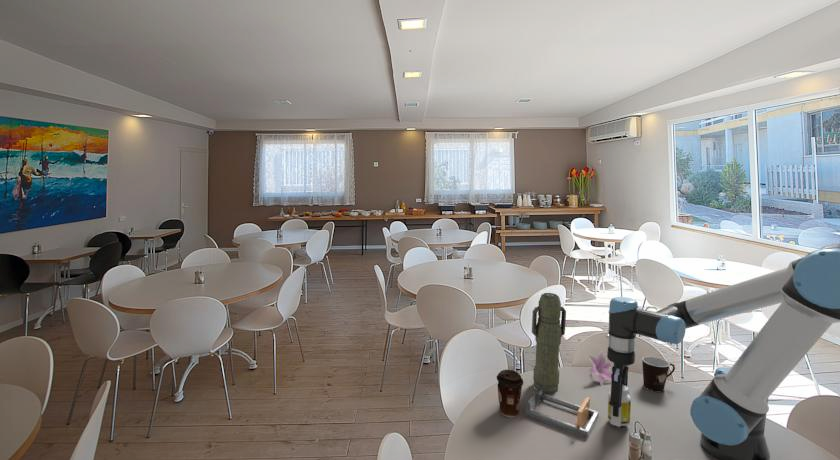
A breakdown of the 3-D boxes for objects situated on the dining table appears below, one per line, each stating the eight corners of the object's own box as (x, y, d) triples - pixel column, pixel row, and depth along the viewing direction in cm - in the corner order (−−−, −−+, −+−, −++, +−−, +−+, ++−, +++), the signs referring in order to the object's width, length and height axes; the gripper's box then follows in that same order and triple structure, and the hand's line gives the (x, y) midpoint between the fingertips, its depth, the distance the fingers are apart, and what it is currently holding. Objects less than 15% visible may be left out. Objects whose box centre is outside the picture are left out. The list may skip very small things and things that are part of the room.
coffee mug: (643, 391, 141) (645, 365, 140) (637, 379, 149) (639, 355, 148) (680, 396, 137) (682, 369, 136) (672, 384, 146) (674, 359, 144)
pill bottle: (632, 427, 118) (634, 393, 116) (610, 425, 119) (612, 391, 118) (626, 416, 124) (627, 383, 122) (605, 414, 125) (606, 381, 124)
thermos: (525, 382, 146) (528, 292, 142) (553, 379, 149) (558, 290, 144) (536, 395, 138) (540, 299, 133) (566, 391, 140) (571, 297, 136)
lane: (598, 417, 125) (599, 405, 124) (587, 438, 114) (588, 425, 114) (540, 397, 136) (540, 386, 135) (525, 414, 126) (526, 403, 125)
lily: (582, 386, 146) (595, 370, 141) (574, 361, 156) (587, 345, 151) (611, 395, 147) (625, 379, 142) (602, 370, 157) (615, 354, 152)
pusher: (588, 416, 125) (589, 397, 124) (580, 431, 117) (581, 412, 116) (548, 402, 133) (549, 385, 132) (537, 415, 125) (538, 397, 124)
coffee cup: (491, 414, 126) (492, 376, 124) (499, 402, 133) (500, 366, 131) (518, 422, 122) (520, 383, 120) (524, 409, 129) (526, 372, 127)
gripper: (614, 336, 129) (611, 402, 131) (600, 355, 114) (597, 430, 116) (640, 341, 124) (636, 409, 127) (629, 362, 109) (625, 439, 111)
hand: (618, 419), depth 121 cm, fingers closed on pill bottle, 6 cm apart
